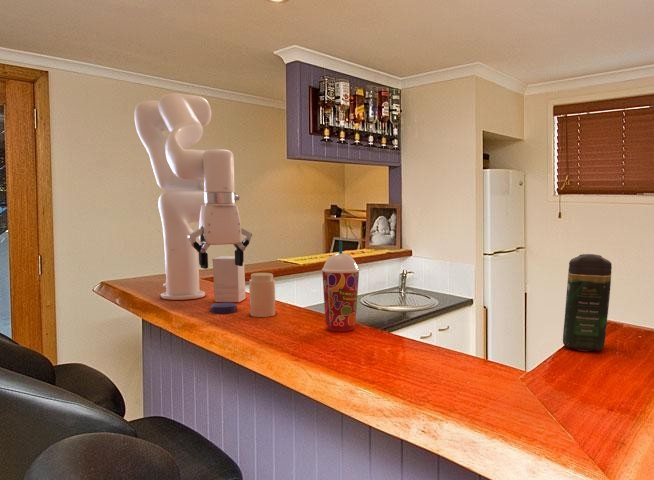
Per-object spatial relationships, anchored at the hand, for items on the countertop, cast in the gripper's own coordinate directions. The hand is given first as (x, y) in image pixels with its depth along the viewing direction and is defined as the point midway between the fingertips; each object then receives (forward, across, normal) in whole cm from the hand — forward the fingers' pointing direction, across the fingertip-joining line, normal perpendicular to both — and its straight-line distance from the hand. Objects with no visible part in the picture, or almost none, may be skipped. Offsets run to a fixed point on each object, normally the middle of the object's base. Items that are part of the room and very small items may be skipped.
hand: (221, 266), depth 145 cm
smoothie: (+12, -12, +36) cm, 39 cm away
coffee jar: (+11, -41, +77) cm, 88 cm away
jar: (+12, -6, +10) cm, 17 cm away
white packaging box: (+12, -9, -14) cm, 20 cm away
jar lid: (+10, 0, 0) cm, 10 cm away
